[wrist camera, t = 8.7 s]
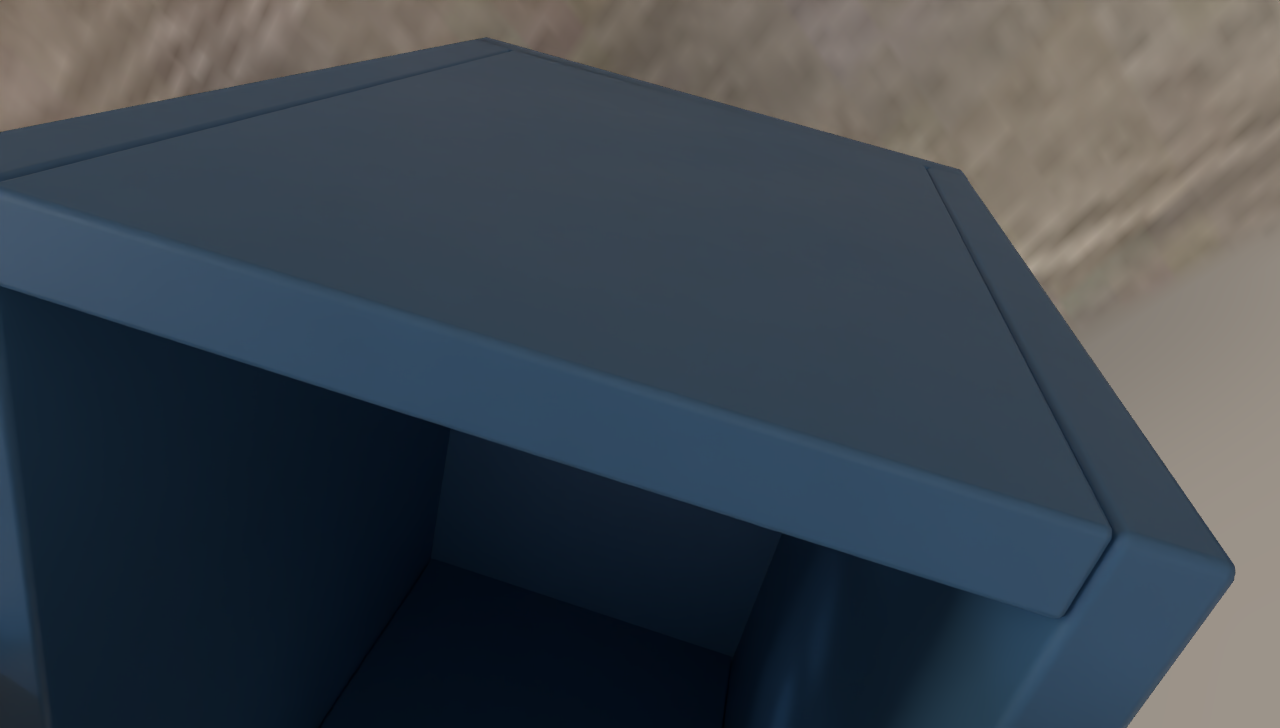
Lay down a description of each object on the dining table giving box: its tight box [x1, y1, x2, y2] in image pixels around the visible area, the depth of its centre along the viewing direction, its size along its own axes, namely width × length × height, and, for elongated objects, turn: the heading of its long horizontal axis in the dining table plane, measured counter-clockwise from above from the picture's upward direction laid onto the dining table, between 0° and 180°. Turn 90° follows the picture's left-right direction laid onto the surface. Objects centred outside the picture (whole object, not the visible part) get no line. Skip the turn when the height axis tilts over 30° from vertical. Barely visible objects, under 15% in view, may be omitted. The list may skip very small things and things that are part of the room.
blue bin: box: [0, 37, 1235, 728], centre depth 10 cm, size 10×7×9 cm
